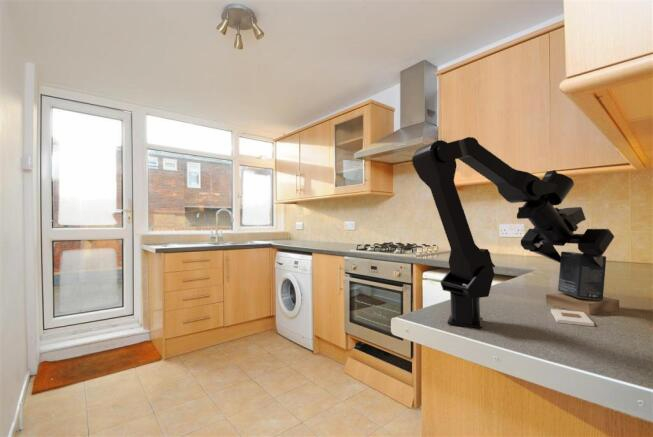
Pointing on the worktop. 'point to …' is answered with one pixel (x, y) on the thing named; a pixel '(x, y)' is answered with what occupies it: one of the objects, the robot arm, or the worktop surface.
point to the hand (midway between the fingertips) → (580, 263)
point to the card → (571, 317)
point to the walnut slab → (582, 303)
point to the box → (581, 276)
